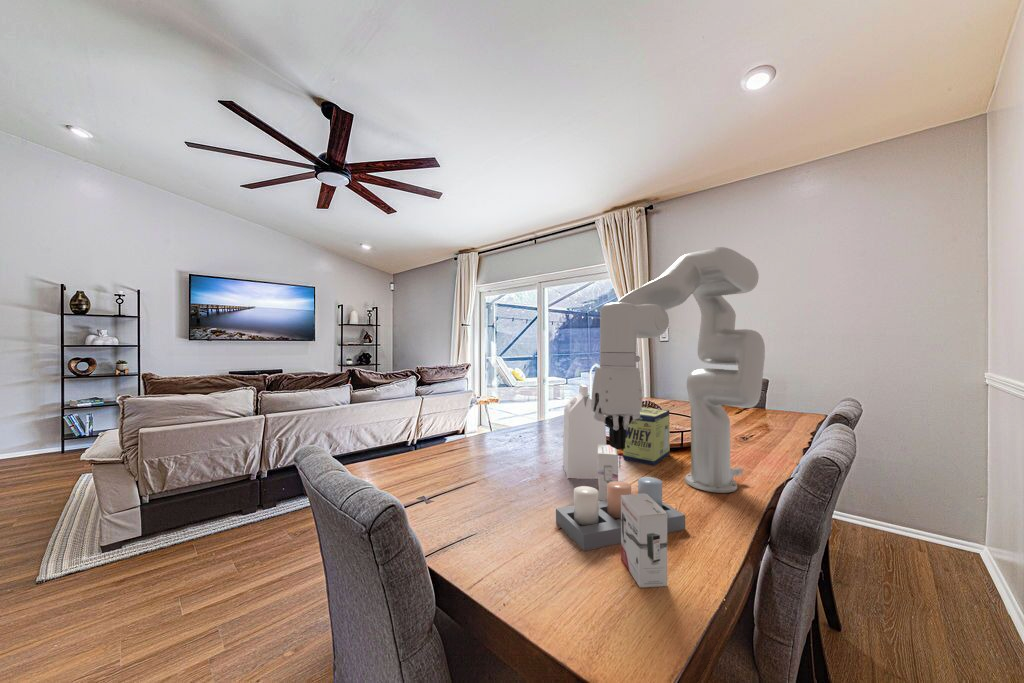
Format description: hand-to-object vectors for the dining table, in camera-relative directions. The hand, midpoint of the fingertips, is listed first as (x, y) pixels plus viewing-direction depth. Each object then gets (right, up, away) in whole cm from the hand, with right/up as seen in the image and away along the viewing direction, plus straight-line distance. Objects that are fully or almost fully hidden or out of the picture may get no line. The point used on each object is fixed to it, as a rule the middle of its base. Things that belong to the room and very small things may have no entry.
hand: (617, 447), depth 80 cm
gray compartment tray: (+1, -17, 0) cm, 17 cm away
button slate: (+8, -14, +3) cm, 17 cm away
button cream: (-7, -14, -2) cm, 16 cm away
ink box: (0, -17, -16) cm, 23 cm away
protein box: (+23, -17, +47) cm, 55 cm away
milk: (-1, -17, +34) cm, 38 cm away
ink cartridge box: (+2, -17, +17) cm, 24 cm away
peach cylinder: (+1, -14, 0) cm, 14 cm away
